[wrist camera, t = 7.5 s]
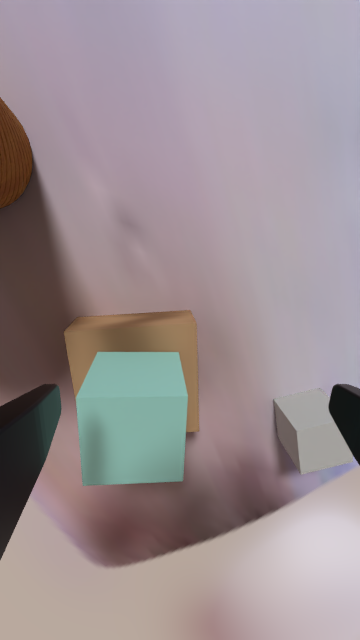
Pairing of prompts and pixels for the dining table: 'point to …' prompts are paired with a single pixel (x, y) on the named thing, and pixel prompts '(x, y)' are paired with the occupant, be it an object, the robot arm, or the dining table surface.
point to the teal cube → (132, 418)
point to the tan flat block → (137, 345)
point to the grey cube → (310, 431)
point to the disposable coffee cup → (13, 157)
